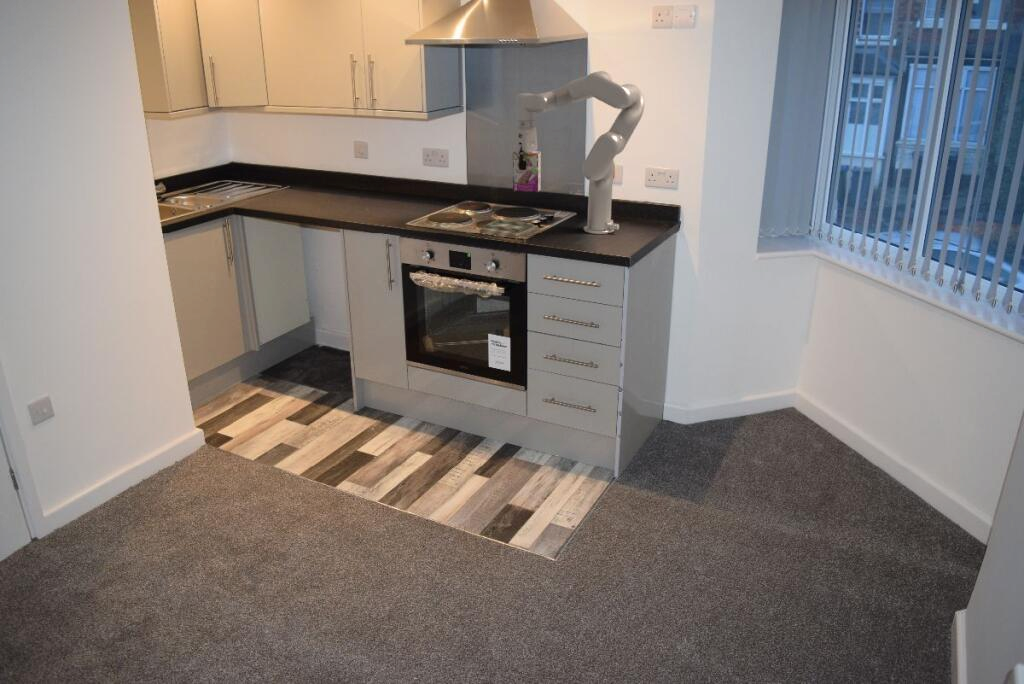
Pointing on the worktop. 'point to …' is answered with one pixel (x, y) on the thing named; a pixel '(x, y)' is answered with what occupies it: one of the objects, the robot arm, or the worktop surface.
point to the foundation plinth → (508, 228)
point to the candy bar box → (527, 173)
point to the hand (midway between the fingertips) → (526, 168)
